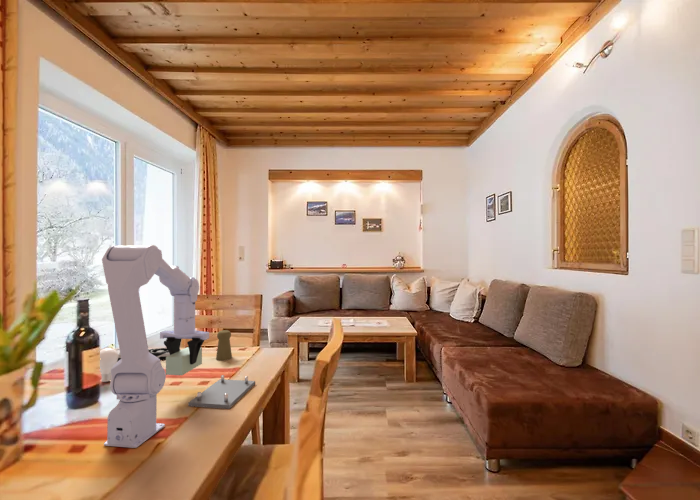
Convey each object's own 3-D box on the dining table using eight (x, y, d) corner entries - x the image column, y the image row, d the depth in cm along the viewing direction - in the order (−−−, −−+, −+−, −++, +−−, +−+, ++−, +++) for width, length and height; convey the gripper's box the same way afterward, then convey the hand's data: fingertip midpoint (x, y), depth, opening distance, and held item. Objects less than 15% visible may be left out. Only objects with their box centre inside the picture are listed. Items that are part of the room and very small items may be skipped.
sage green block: (182, 375, 94) (182, 357, 94) (165, 374, 94) (165, 357, 94) (201, 363, 104) (202, 347, 104) (186, 363, 104) (187, 347, 104)
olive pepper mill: (215, 357, 134) (215, 329, 134) (231, 355, 137) (231, 328, 137) (216, 361, 129) (216, 333, 129) (232, 359, 131) (232, 331, 132)
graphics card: (117, 348, 137) (181, 345, 140) (117, 356, 137) (181, 353, 140) (102, 355, 127) (172, 352, 130) (102, 364, 127) (172, 361, 130)
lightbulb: (103, 387, 104) (103, 351, 104) (89, 384, 106) (89, 350, 106) (122, 379, 110) (123, 346, 110) (109, 377, 112) (109, 344, 112)
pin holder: (229, 408, 90) (229, 397, 90) (188, 406, 91) (188, 395, 91) (255, 384, 107) (255, 374, 107) (219, 382, 108) (219, 373, 108)
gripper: (214, 315, 102) (214, 359, 102) (170, 314, 104) (170, 357, 104) (201, 320, 95) (201, 367, 95) (155, 318, 97) (154, 365, 97)
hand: (184, 362), depth 99 cm, fingers closed on sage green block, 5 cm apart
